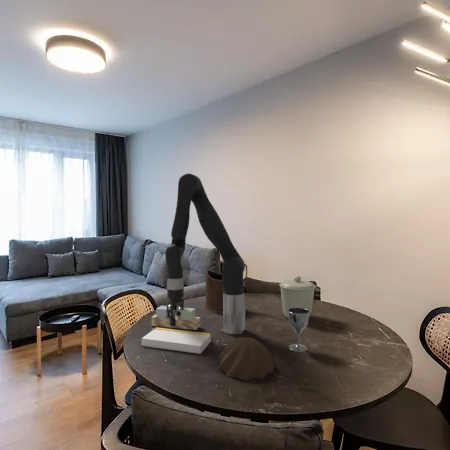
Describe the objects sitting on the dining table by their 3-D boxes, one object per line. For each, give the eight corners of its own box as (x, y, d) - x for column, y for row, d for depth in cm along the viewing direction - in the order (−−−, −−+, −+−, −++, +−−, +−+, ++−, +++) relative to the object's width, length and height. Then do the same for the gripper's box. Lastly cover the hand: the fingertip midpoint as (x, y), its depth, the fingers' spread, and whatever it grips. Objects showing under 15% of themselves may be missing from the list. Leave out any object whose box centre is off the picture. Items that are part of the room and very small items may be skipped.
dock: (210, 341, 135) (210, 333, 135) (200, 353, 123) (200, 345, 123) (156, 334, 142) (156, 327, 142) (141, 345, 130) (141, 337, 130)
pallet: (200, 325, 151) (200, 317, 151) (196, 330, 146) (195, 321, 145) (157, 321, 157) (157, 313, 157) (151, 325, 152) (151, 317, 152)
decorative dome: (237, 387, 101) (237, 355, 101) (208, 360, 118) (208, 333, 118) (285, 371, 111) (286, 342, 110) (252, 349, 128) (252, 324, 127)
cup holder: (206, 302, 191) (206, 259, 190) (248, 304, 188) (248, 260, 186) (200, 312, 173) (200, 265, 171) (245, 314, 169) (245, 266, 168)
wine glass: (296, 353, 124) (297, 314, 123) (283, 346, 131) (284, 309, 130) (312, 349, 127) (313, 311, 127) (299, 342, 134) (299, 306, 134)
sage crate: (195, 317, 151) (195, 308, 151) (191, 320, 146) (191, 311, 146) (185, 316, 152) (185, 307, 152) (181, 319, 148) (180, 311, 147)
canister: (323, 318, 163) (324, 277, 162) (297, 326, 153) (298, 281, 152) (296, 309, 178) (296, 271, 177) (271, 315, 168) (271, 274, 167)
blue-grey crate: (170, 314, 154) (170, 306, 154) (166, 318, 150) (166, 309, 150) (161, 313, 156) (161, 305, 156) (156, 317, 151) (156, 308, 151)
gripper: (176, 291, 142) (176, 329, 143) (189, 284, 156) (189, 319, 157) (160, 290, 145) (161, 328, 145) (174, 283, 158) (175, 317, 159)
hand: (175, 323), depth 151 cm, fingers closed on pallet, 5 cm apart
